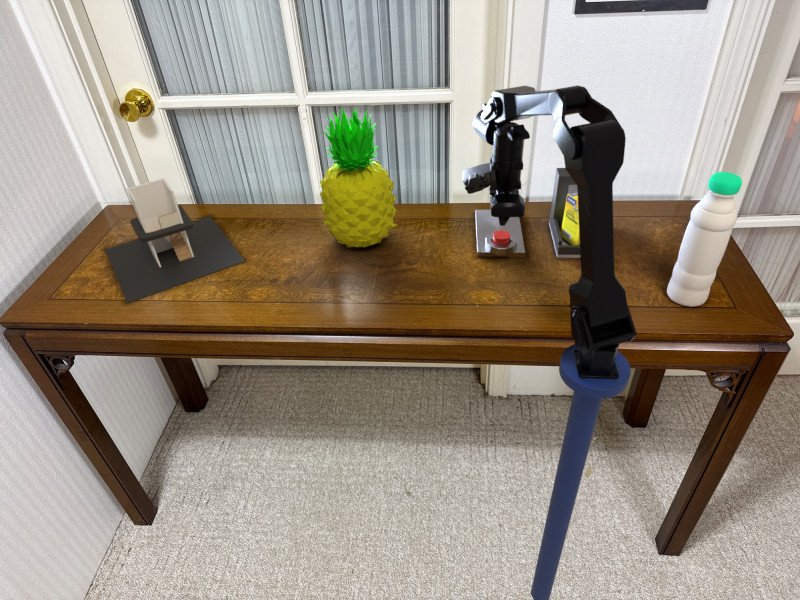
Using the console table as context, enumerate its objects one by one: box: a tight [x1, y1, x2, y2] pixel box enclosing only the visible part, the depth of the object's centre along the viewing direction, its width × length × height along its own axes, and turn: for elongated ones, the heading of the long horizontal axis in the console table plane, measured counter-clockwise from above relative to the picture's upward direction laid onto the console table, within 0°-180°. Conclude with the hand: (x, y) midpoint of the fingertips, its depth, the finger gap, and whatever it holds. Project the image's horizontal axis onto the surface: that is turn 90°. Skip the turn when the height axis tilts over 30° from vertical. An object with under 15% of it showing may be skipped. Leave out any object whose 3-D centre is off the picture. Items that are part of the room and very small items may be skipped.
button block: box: [474, 209, 526, 258], centre depth 126 cm, size 19×10×3 cm, turn 176°
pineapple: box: [319, 106, 397, 248], centre depth 120 cm, size 17×17×30 cm
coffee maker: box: [548, 167, 581, 259], centre depth 120 cm, size 14×11×14 cm
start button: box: [493, 230, 510, 246], centre depth 120 cm, size 4×4×2 cm
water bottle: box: [666, 171, 743, 308], centre depth 100 cm, size 7×7×25 cm
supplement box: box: [561, 192, 580, 245], centre depth 119 cm, size 6×6×11 cm
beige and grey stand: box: [104, 177, 245, 304], centre depth 122 cm, size 25×24×16 cm
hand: (502, 224), depth 118 cm, fingers closed
